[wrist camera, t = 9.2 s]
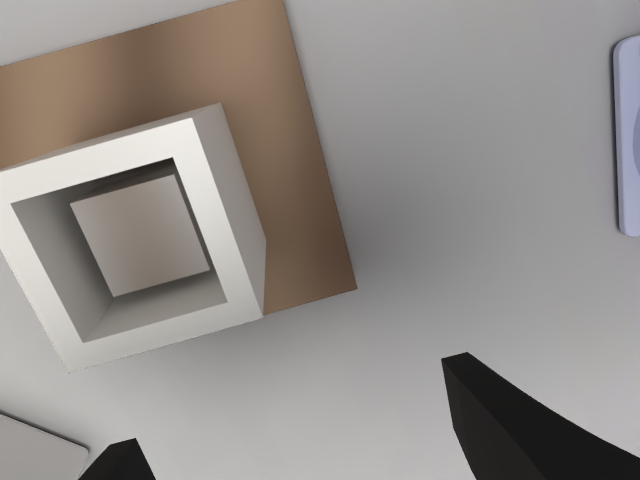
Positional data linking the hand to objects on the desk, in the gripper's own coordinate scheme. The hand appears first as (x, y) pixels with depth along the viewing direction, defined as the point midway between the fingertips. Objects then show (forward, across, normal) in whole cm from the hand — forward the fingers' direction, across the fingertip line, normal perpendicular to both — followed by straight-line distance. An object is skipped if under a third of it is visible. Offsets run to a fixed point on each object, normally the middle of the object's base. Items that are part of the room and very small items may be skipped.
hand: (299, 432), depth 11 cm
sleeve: (+8, +3, -4) cm, 10 cm away
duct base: (+9, +3, -4) cm, 11 cm away
